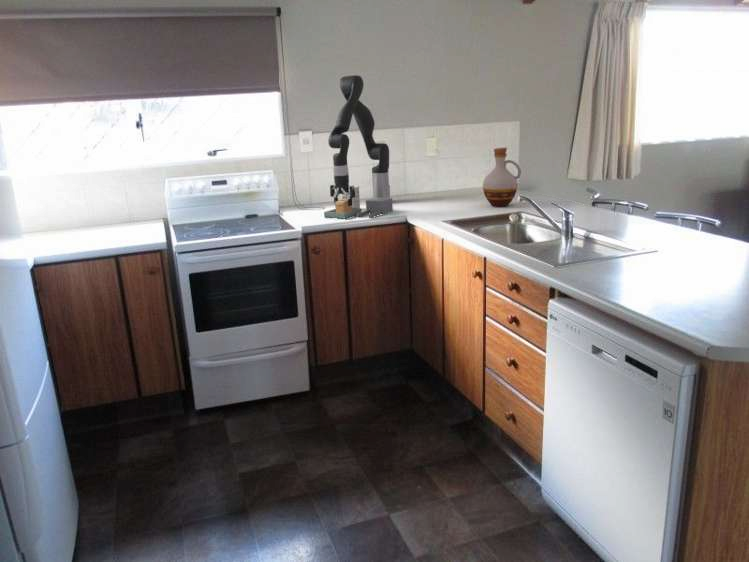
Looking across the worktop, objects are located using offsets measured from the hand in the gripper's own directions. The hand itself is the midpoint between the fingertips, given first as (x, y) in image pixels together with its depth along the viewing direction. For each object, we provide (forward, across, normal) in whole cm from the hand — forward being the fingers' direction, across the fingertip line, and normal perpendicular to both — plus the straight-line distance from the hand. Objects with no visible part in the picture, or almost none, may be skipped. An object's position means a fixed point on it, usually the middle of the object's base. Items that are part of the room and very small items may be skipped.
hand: (343, 205), depth 328 cm
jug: (+6, -66, -51) cm, 83 cm away
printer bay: (+5, -14, -8) cm, 17 cm away
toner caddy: (+4, 0, 0) cm, 5 cm away
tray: (+5, 0, +1) cm, 5 cm away
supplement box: (+6, +6, -14) cm, 16 cm away
